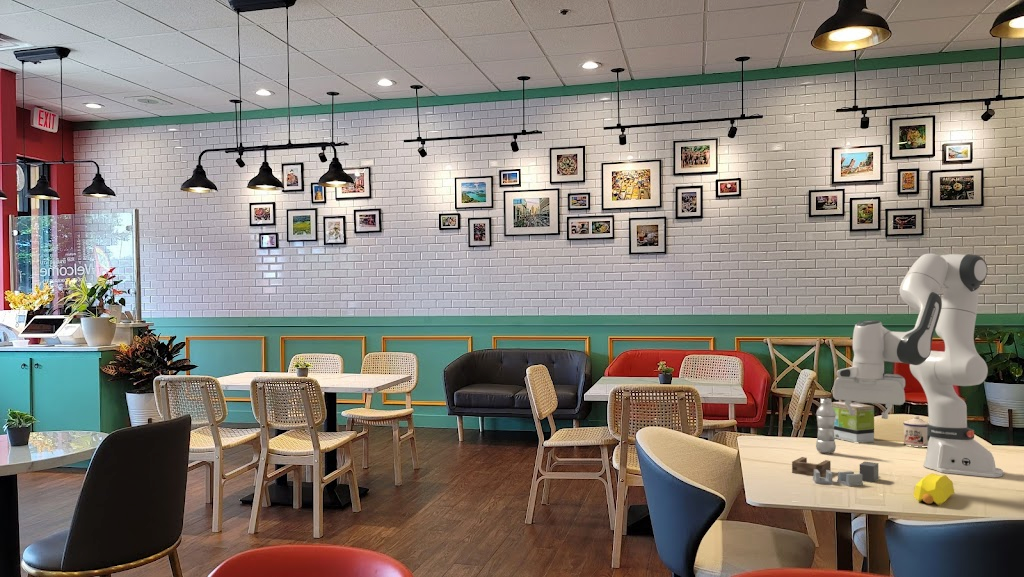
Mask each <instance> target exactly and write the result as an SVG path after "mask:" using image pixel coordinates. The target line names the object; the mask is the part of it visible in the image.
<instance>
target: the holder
mask: <svg viewBox="0 0 1024 577" xmlns="http://www.w3.org/2000/svg"><path fill="white" fill-rule="evenodd" d="M807 459H808V457H806V456H805V457H804V456H801V457H799V458H797V459H795V460H793V461H792V462H791V473H793V474H798V475H804V476H805V475H806V476H811V477H814V469H817V470H818V471H819V472H820V477H821V478H823V477H824V476H826V470H830V472H831V473H832V471H831V460H829V459H825V460H823V461H820V462H819V463H812V462H808V461H807Z"/></svg>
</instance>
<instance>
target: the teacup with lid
mask: <svg viewBox="0 0 1024 577" xmlns="http://www.w3.org/2000/svg"><path fill="white" fill-rule="evenodd" d="M928 424H929V422H927V421H925V420H923V419H921V418H920V416H919V415H914V416H913V418H910V419H908V420H904V421H903V444H904V443H905V444H906V445H911V446H918V447H922V446H928V440H927V425H928ZM906 445H905V446H906Z"/></svg>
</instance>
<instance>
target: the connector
mask: <svg viewBox="0 0 1024 577" xmlns="http://www.w3.org/2000/svg"><path fill="white" fill-rule="evenodd" d="M859 474H862V482H867V483H875V482H877V481H878V480H879V463H877V462H873V461H872V462H871V461H863V462H861V463H860V464H859Z"/></svg>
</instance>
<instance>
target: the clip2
mask: <svg viewBox="0 0 1024 577" xmlns="http://www.w3.org/2000/svg"><path fill="white" fill-rule="evenodd" d="M812 480H813V482H814V483H815V484H821V485H834V481H833V472H832V471H831V472H830V470H826V474H825V477H820V472H819V471H818V470H817V469H814V476H812Z"/></svg>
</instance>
